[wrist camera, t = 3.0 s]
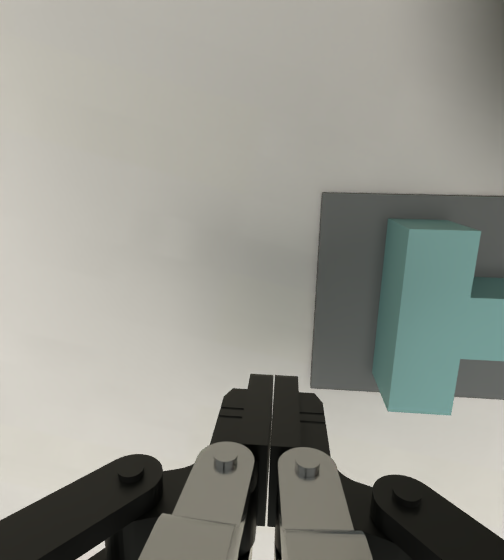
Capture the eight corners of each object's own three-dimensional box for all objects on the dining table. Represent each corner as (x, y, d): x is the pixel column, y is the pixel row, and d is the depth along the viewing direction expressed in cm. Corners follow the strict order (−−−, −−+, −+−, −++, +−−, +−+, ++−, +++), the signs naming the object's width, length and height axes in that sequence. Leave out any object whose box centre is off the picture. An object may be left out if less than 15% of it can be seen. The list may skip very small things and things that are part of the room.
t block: (388, 218, 22) (409, 229, 18) (567, 223, 21) (630, 235, 17) (372, 372, 24) (388, 411, 20) (533, 381, 23) (581, 423, 19)
